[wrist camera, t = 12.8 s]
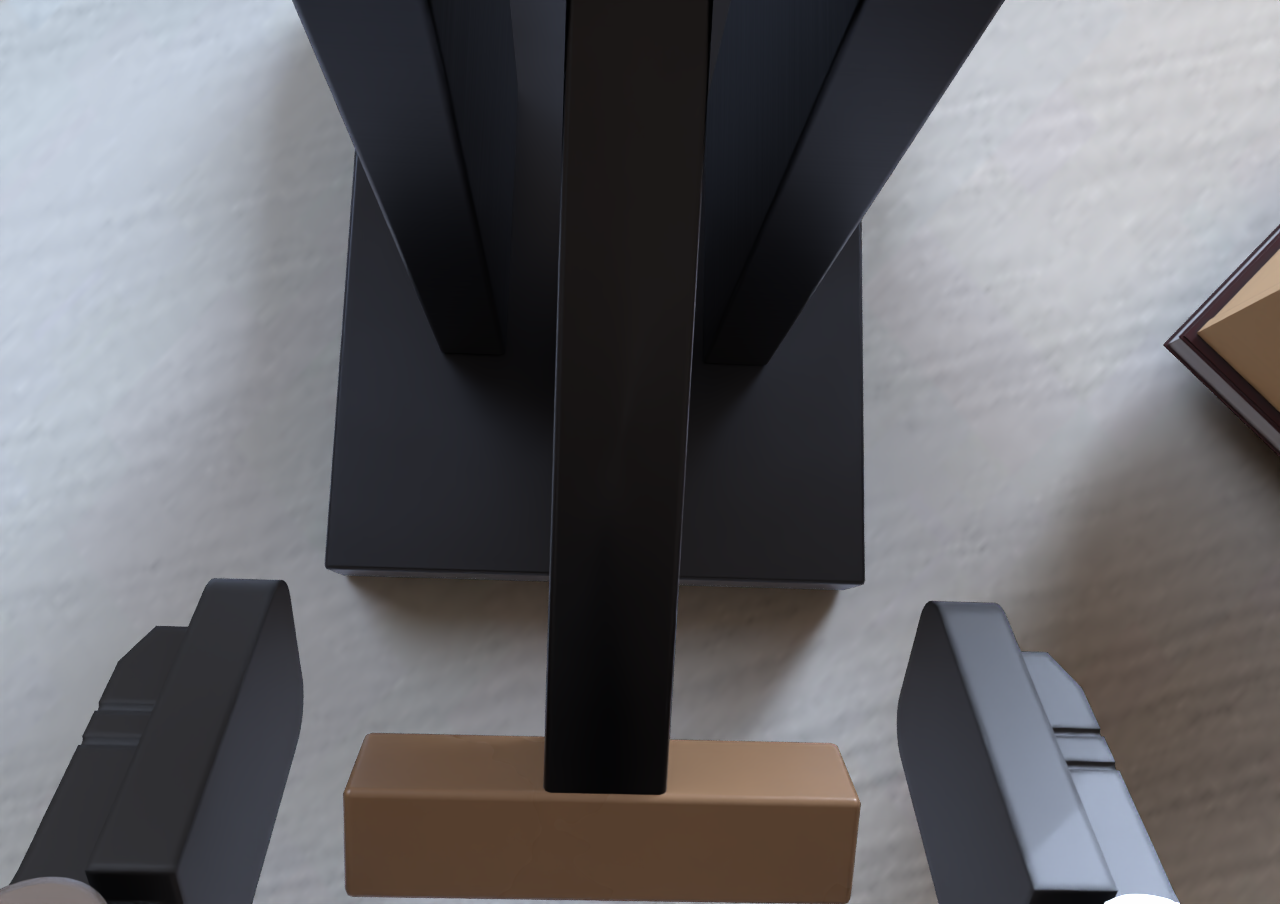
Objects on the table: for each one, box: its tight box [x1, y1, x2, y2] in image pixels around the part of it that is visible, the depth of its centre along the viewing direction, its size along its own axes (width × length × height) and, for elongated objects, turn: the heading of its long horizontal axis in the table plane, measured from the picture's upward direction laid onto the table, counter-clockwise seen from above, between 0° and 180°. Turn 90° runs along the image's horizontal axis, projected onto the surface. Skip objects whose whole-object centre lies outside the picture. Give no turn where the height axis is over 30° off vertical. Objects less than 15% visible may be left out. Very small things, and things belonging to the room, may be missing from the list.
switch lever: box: [343, 0, 861, 904], centre depth 10 cm, size 11×5×2 cm, turn 179°
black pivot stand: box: [292, 0, 1005, 590], centre depth 13 cm, size 11×8×13 cm
